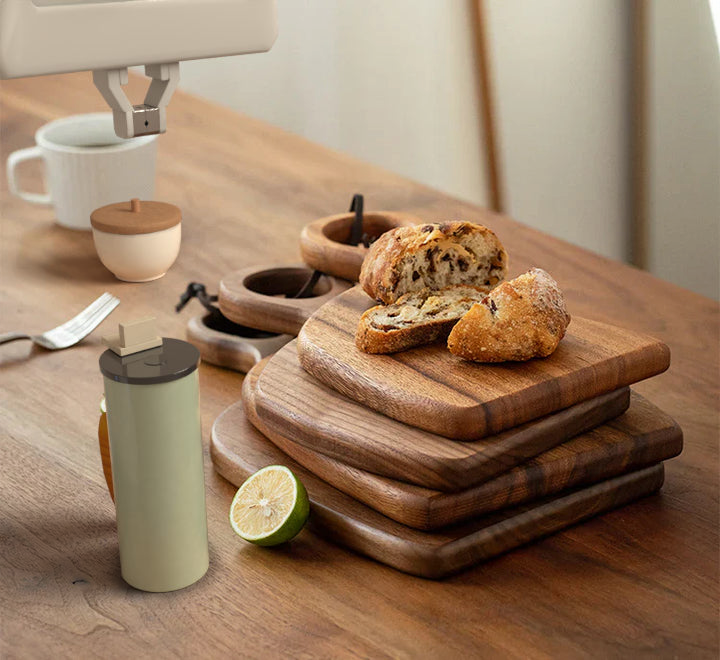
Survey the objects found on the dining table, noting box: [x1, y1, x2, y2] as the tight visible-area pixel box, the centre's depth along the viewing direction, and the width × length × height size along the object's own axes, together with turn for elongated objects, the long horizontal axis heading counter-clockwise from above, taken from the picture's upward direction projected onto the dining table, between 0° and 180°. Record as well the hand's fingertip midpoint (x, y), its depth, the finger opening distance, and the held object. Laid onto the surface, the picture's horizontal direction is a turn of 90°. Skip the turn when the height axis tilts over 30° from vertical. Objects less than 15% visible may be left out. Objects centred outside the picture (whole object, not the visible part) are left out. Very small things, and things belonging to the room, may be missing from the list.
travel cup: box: [98, 336, 210, 593], centre depth 85 cm, size 8×8×19 cm
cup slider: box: [100, 314, 162, 356], centre depth 83 cm, size 4×3×2 cm
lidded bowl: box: [89, 197, 183, 283], centre depth 153 cm, size 13×13×11 cm
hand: (140, 135), depth 70 cm, fingers closed
